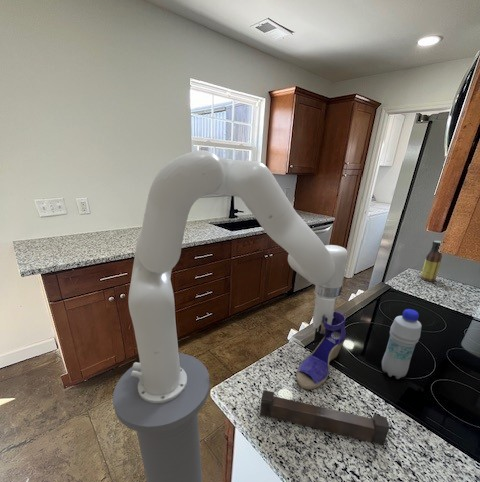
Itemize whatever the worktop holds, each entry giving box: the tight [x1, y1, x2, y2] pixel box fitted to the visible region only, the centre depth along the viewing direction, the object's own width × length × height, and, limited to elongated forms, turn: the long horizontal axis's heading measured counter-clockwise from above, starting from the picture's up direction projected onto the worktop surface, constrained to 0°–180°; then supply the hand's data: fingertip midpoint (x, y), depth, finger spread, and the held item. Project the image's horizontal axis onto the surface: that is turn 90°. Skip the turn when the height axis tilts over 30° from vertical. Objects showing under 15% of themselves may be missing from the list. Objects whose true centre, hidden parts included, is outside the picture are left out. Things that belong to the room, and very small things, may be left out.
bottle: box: [381, 308, 423, 380], centre depth 70 cm, size 7×7×20 cm
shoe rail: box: [260, 389, 390, 446], centre depth 58 cm, size 26×2×5 cm, turn 75°
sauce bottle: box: [420, 240, 443, 283], centre depth 129 cm, size 7×6×20 cm
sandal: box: [296, 311, 347, 391], centre depth 72 cm, size 8×20×15 cm, turn 128°
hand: (319, 340), depth 83 cm, fingers closed
